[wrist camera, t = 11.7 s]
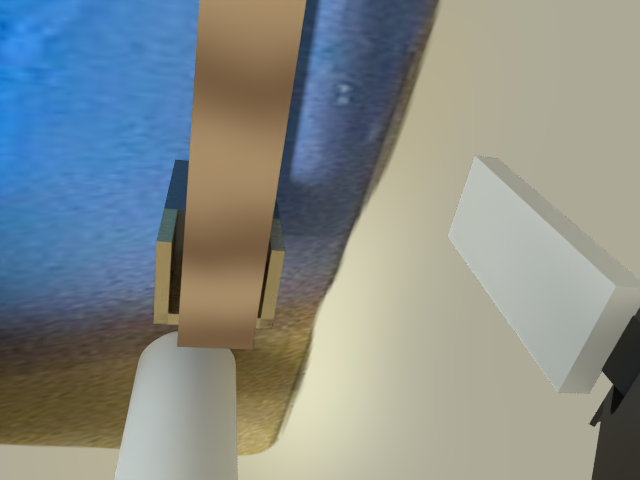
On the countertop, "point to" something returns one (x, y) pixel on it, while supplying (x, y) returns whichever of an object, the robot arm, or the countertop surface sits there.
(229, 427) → the alcohol
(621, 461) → the robot arm
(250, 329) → the rail
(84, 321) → the countertop surface
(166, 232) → the bracket stand
